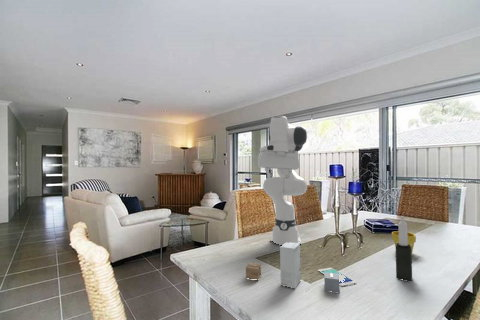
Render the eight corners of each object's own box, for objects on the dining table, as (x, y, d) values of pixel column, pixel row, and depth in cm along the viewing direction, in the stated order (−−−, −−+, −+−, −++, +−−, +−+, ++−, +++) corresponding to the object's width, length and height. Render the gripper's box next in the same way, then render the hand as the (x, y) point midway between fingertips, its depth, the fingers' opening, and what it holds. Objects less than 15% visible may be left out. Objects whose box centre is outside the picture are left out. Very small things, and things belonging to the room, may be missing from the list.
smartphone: (331, 267, 108) (357, 282, 94) (331, 269, 108) (357, 284, 94) (317, 269, 105) (341, 285, 91) (317, 271, 105) (341, 288, 91)
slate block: (324, 285, 93) (324, 271, 93) (338, 287, 91) (338, 273, 91) (324, 291, 88) (324, 277, 88) (339, 293, 87) (339, 279, 87)
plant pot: (393, 254, 124) (392, 235, 124) (391, 248, 133) (390, 230, 133) (418, 257, 119) (417, 237, 119) (414, 251, 128) (413, 232, 129)
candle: (397, 274, 101) (396, 214, 102) (412, 277, 98) (410, 215, 99) (395, 278, 97) (394, 216, 98) (411, 282, 94) (409, 217, 95)
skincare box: (295, 289, 89) (294, 249, 90) (279, 285, 92) (279, 246, 93) (301, 280, 97) (300, 242, 97) (286, 277, 100) (286, 240, 100)
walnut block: (249, 274, 102) (249, 262, 103) (261, 276, 101) (260, 263, 101) (246, 279, 98) (245, 266, 98) (258, 281, 96) (257, 268, 96)
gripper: (294, 151, 120) (294, 179, 119) (256, 148, 114) (256, 177, 113) (301, 149, 114) (301, 179, 113) (261, 146, 108) (261, 177, 107)
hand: (278, 178), depth 113 cm, fingers open, 8 cm apart
